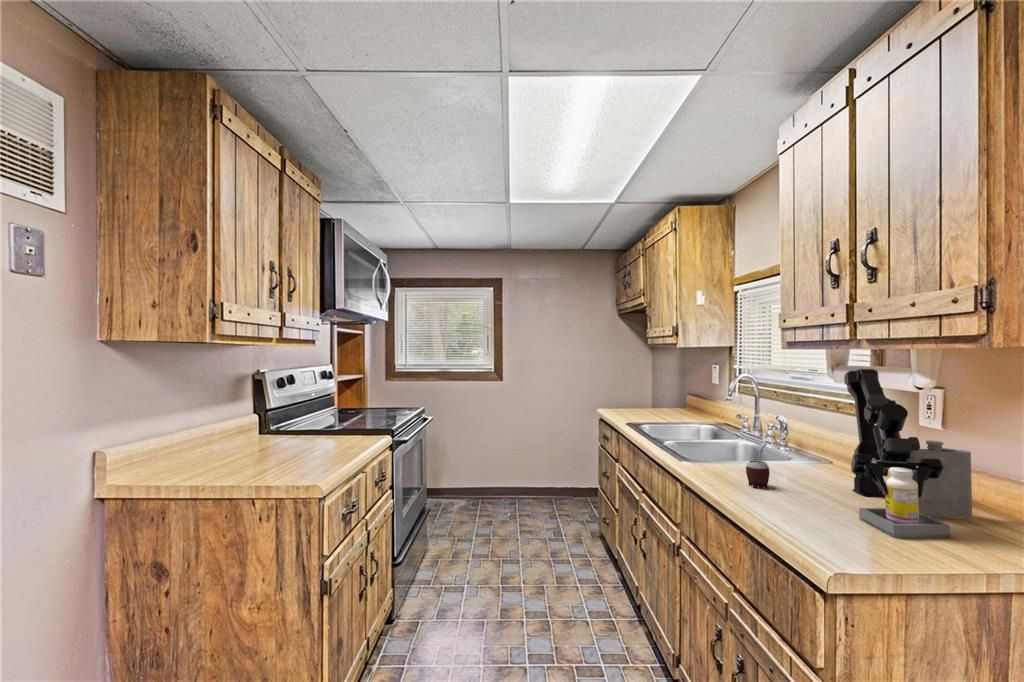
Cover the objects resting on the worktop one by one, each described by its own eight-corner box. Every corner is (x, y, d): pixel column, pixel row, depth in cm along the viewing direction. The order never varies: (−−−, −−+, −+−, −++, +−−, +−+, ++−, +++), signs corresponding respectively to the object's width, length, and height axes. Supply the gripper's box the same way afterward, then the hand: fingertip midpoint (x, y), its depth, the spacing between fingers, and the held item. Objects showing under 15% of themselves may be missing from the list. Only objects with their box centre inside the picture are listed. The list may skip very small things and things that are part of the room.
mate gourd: (751, 482, 173) (750, 438, 173) (776, 487, 167) (775, 441, 167) (741, 486, 168) (741, 441, 168) (766, 491, 162) (766, 444, 162)
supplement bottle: (887, 513, 133) (886, 464, 133) (920, 519, 129) (919, 468, 129) (883, 520, 128) (882, 469, 128) (917, 526, 124) (916, 474, 124)
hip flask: (909, 516, 137) (907, 442, 137) (899, 512, 141) (898, 439, 141) (975, 518, 135) (973, 442, 135) (963, 513, 139) (962, 440, 139)
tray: (910, 519, 135) (909, 508, 135) (950, 537, 122) (949, 525, 122) (859, 519, 135) (859, 508, 135) (893, 537, 122) (893, 525, 122)
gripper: (852, 423, 136) (864, 475, 126) (940, 426, 129) (959, 481, 118) (846, 447, 143) (856, 497, 133) (929, 451, 136) (946, 505, 126)
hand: (903, 495), depth 127 cm, fingers closed on supplement bottle, 6 cm apart
